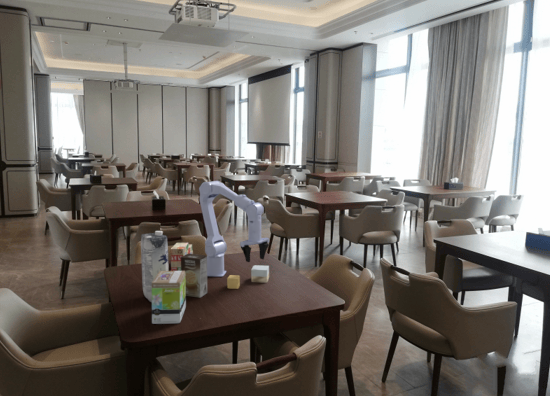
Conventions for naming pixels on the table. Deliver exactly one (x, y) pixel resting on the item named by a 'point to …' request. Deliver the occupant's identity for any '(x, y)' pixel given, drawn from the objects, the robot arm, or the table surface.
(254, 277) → the birch slab
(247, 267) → the table surface
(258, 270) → the grey-blue slab
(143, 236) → the juice carton
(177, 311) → the tea box
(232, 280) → the mustard cube
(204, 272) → the coffee box
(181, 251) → the red cream box
